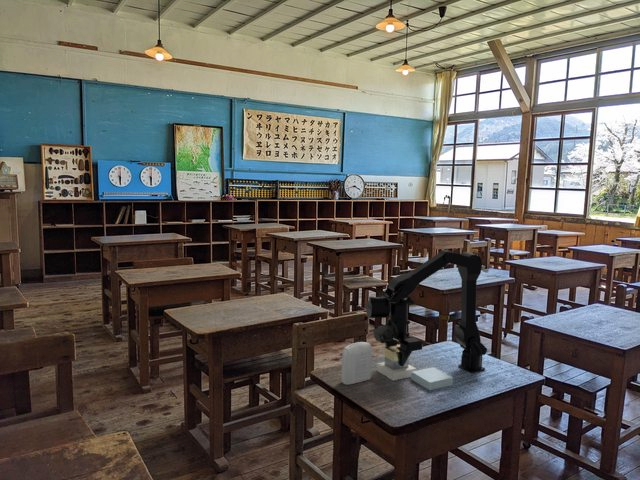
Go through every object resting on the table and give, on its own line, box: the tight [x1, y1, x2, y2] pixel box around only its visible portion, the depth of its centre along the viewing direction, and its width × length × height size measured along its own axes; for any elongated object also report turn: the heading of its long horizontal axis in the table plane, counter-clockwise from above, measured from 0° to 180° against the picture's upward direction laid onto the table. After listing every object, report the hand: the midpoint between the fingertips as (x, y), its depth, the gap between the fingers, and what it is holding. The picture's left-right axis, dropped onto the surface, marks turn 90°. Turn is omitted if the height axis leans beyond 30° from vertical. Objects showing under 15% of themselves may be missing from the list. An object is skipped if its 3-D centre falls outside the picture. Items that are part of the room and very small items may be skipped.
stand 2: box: [410, 366, 454, 391], centre depth 152 cm, size 9×9×2 cm
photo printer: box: [341, 341, 373, 386], centre depth 152 cm, size 10×4×12 cm, turn 123°
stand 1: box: [376, 361, 417, 382], centre depth 159 cm, size 9×9×2 cm
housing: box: [383, 343, 411, 370], centre depth 158 cm, size 7×6×6 cm
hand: (396, 362), depth 159 cm, fingers closed on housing, 5 cm apart
